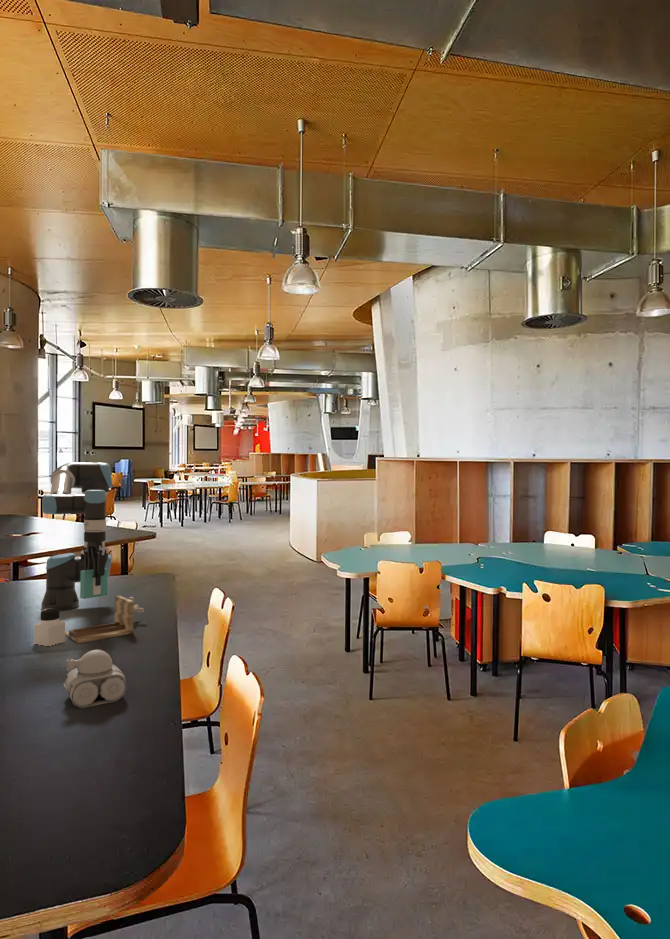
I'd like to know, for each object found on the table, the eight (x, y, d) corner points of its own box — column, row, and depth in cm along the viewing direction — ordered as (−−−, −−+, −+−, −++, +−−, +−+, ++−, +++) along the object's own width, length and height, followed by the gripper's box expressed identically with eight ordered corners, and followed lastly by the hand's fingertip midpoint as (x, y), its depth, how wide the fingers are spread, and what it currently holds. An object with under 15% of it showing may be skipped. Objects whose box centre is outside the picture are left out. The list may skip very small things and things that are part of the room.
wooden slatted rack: (65, 634, 215) (65, 602, 215) (118, 625, 229) (118, 595, 229) (78, 643, 205) (78, 609, 205) (133, 633, 218) (133, 601, 218)
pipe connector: (148, 619, 239) (148, 595, 239) (137, 625, 229) (137, 600, 229) (124, 618, 240) (125, 594, 240) (113, 624, 230) (113, 599, 230)
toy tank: (67, 711, 148) (68, 660, 148) (60, 697, 156) (61, 649, 156) (128, 699, 156) (128, 651, 156) (118, 687, 165) (119, 641, 165)
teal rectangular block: (80, 597, 215) (80, 570, 215) (103, 594, 222) (103, 567, 222) (84, 598, 213) (84, 571, 213) (107, 595, 220) (107, 568, 220)
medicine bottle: (65, 642, 206) (65, 608, 206) (47, 647, 200) (48, 612, 200) (51, 639, 209) (51, 606, 209) (33, 644, 203) (34, 610, 203)
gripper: (74, 530, 220) (73, 592, 220) (96, 533, 210) (95, 598, 209) (93, 528, 226) (92, 589, 225) (115, 531, 215) (114, 595, 215)
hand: (94, 593), depth 217 cm, fingers closed on teal rectangular block, 3 cm apart
